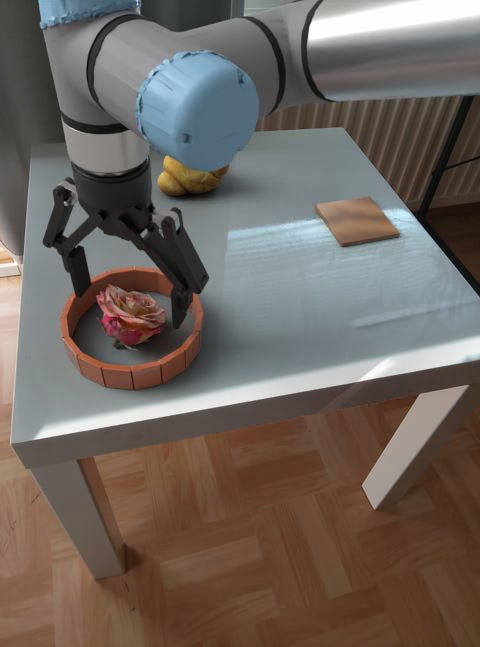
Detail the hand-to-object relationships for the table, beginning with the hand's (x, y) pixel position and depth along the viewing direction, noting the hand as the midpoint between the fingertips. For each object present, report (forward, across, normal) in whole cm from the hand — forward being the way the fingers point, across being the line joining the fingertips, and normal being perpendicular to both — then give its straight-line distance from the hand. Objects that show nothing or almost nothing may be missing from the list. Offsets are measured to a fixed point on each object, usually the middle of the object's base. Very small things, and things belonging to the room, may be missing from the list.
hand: (130, 305), depth 64 cm
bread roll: (+6, +7, -35) cm, 36 cm away
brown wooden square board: (+5, -24, -37) cm, 44 cm away
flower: (+6, 0, 0) cm, 6 cm away
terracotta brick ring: (+5, 0, 0) cm, 5 cm away
